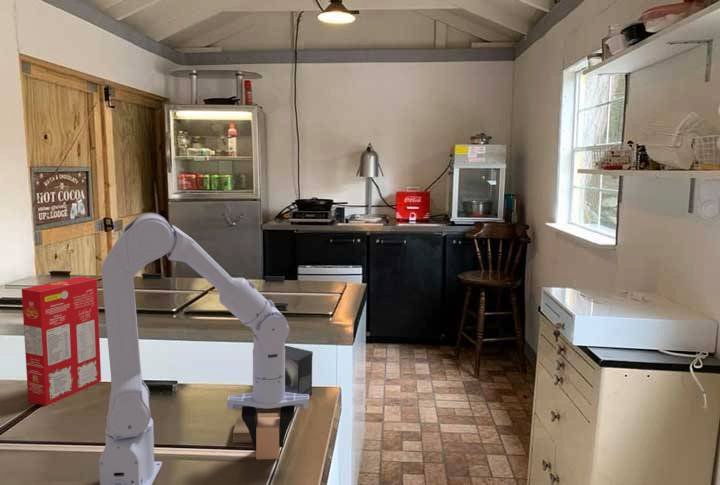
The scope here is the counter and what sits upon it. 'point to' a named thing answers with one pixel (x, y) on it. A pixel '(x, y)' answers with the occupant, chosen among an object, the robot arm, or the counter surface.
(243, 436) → the plinth
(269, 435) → the block
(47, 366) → the food packaging
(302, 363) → the small box
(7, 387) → the counter surface
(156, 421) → the counter surface
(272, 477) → the counter surface
